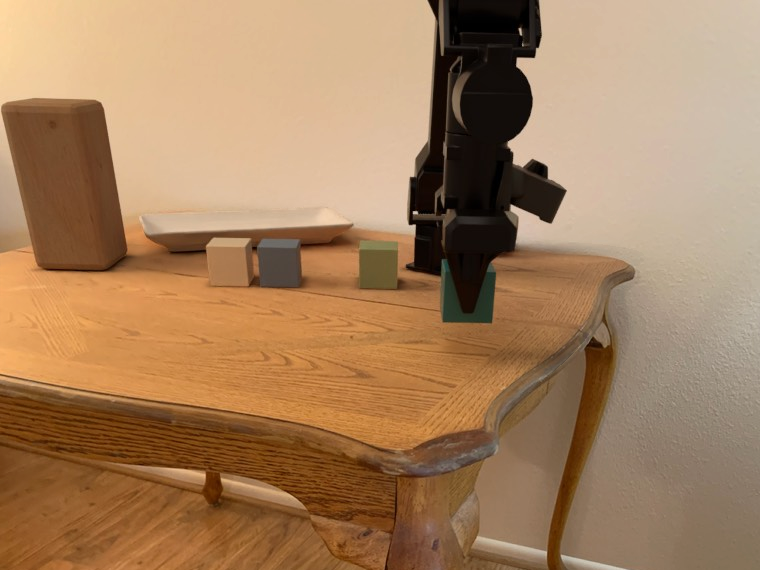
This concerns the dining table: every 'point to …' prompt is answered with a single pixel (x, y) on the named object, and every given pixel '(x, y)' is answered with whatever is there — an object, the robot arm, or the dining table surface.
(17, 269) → the dining table surface
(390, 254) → the sage block
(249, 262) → the cream block
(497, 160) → the robot arm
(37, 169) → the wooden block
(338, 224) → the tray
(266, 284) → the slate block
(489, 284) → the teal block
